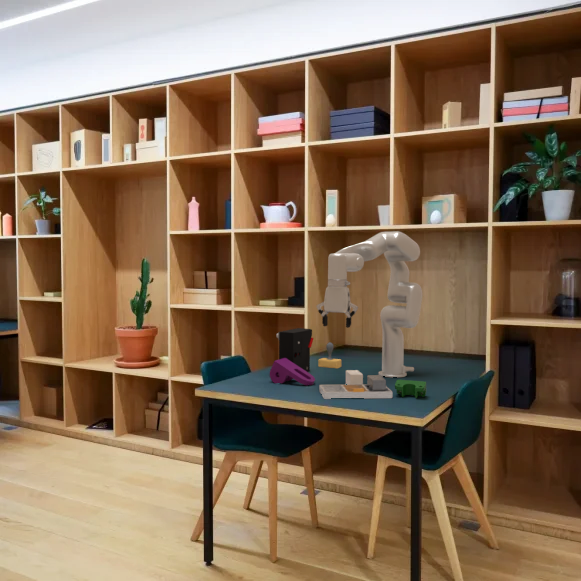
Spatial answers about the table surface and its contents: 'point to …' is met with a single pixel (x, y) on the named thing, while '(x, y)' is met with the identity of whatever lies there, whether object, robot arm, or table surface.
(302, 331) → the electrical component
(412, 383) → the clamp
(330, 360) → the rubber stamp
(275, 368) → the mounting bracket
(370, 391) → the grey compartment tray
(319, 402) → the table surface
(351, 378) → the cream upright block
